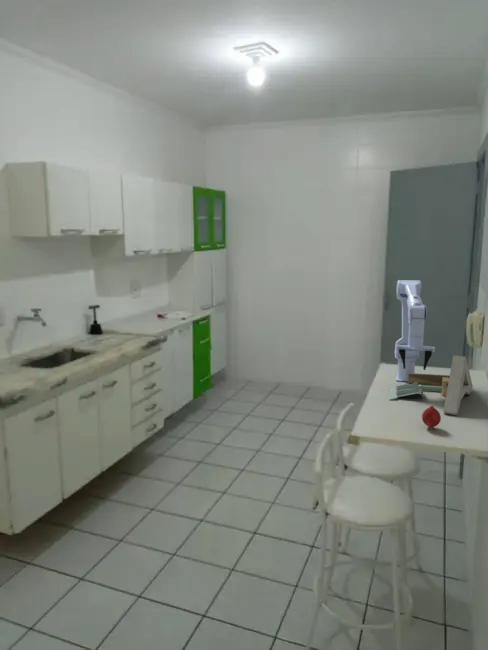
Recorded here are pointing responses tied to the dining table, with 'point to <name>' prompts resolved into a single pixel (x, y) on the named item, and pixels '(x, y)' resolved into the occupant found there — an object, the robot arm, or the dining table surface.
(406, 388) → the metal bracket
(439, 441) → the dining table surface
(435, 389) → the cleat ledge
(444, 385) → the cabinet block
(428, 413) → the onion
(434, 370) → the dining table surface
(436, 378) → the wall board
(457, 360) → the white letter a
